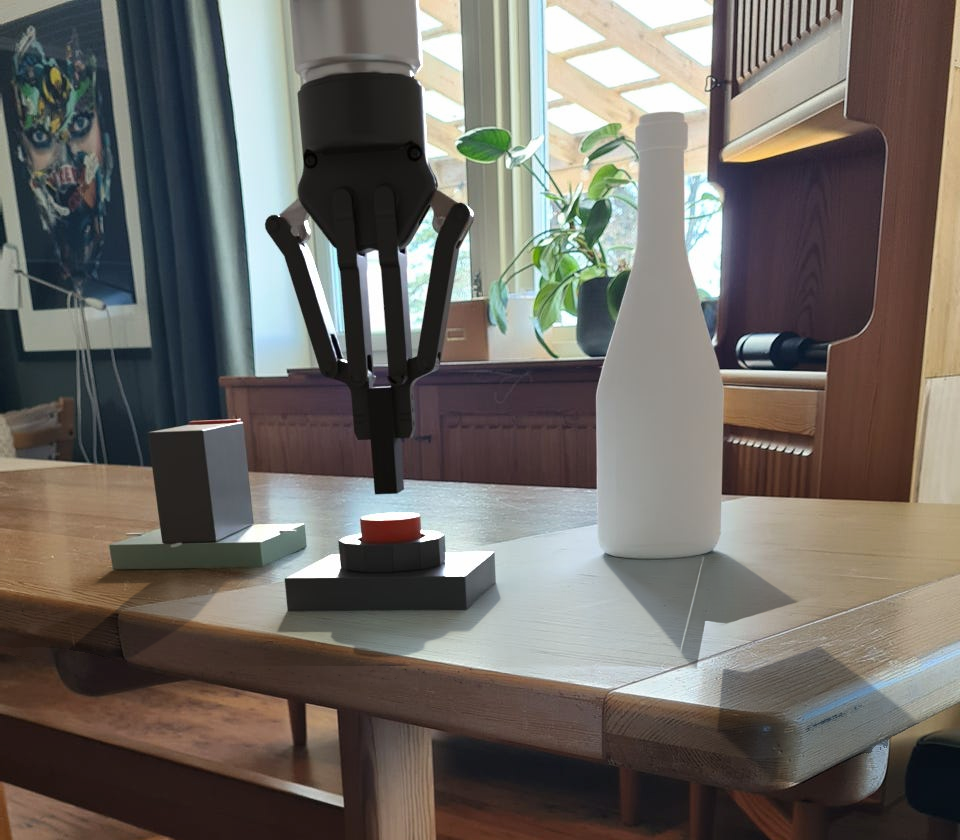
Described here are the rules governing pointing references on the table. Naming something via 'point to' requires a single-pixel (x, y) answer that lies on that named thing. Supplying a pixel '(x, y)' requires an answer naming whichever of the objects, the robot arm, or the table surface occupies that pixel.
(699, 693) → the table surface
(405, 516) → the button
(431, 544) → the switch box
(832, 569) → the table surface
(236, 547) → the platform
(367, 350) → the robot arm
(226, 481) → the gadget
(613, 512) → the wine bottle
